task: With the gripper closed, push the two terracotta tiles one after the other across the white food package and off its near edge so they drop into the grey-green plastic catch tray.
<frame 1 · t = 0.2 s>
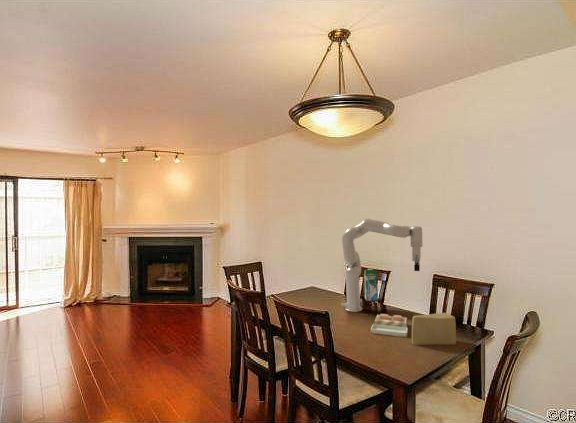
hand: (417, 269, 223), 31 cm above the table, fingers open, 9 cm apart
tan rounded block: (432, 343, 176), on the table
milk carton: (371, 299, 267), on the table
tray: (389, 332, 193), on the table
white food package: (391, 326, 204), on the table
tile b: (397, 319, 202), point 4 cm above the table, touching white food package
tile a: (384, 318, 205), point 4 cm above the table, touching white food package
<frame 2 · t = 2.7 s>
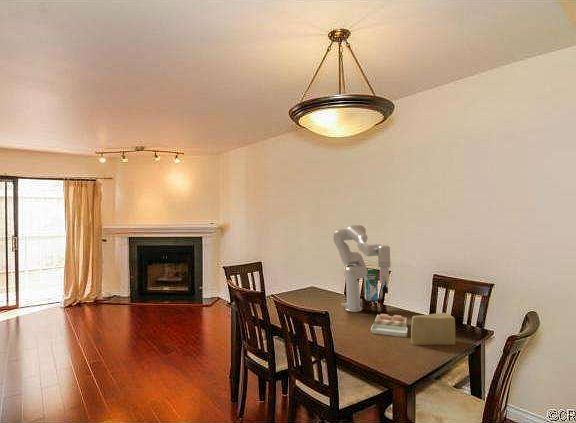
hand: (385, 293, 213), 18 cm above the table, fingers closed
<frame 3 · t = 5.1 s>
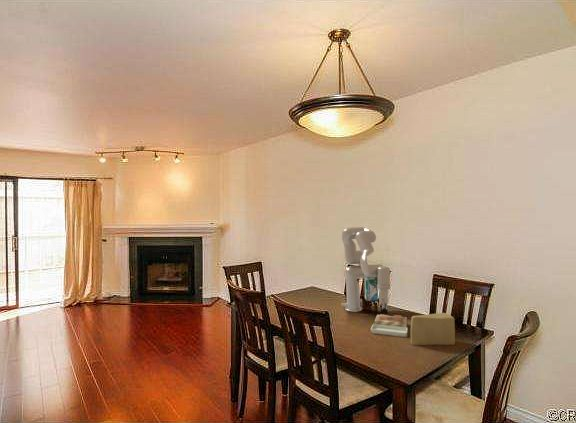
hand: (384, 315, 208), 6 cm above the table, fingers closed
tile a: (383, 318, 204), point 5 cm above the table, touching gripper
everything else where it was.
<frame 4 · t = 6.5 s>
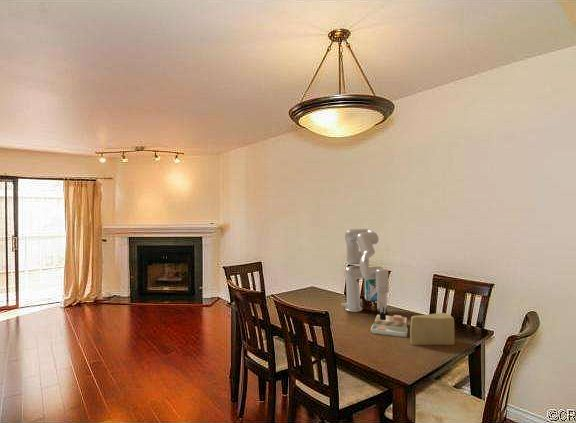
hand: (383, 319, 200), 6 cm above the table, fingers closed
tile a: (381, 327, 194), point 3 cm above the table, tilted 180°, touching tray
everything else where it was.
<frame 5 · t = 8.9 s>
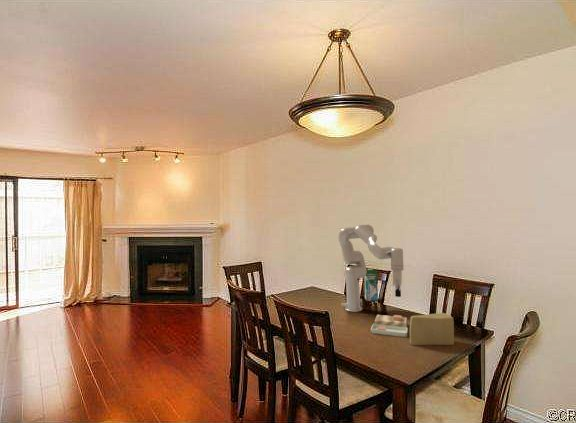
hand: (398, 296, 210), 17 cm above the table, fingers closed
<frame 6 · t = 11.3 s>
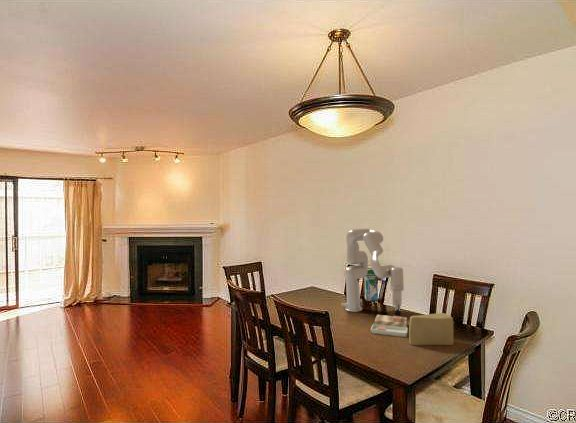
hand: (398, 316, 204), 6 cm above the table, fingers closed
tile b: (397, 320, 200), point 5 cm above the table
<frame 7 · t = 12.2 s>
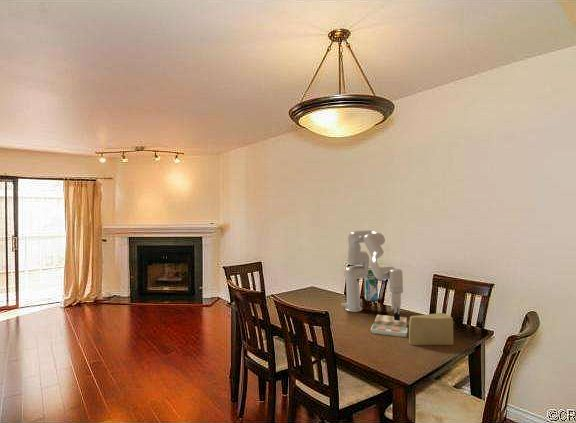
hand: (397, 319, 198), 6 cm above the table, fingers closed
tile b: (395, 328, 192), point 3 cm above the table, tilted 180°, touching tray
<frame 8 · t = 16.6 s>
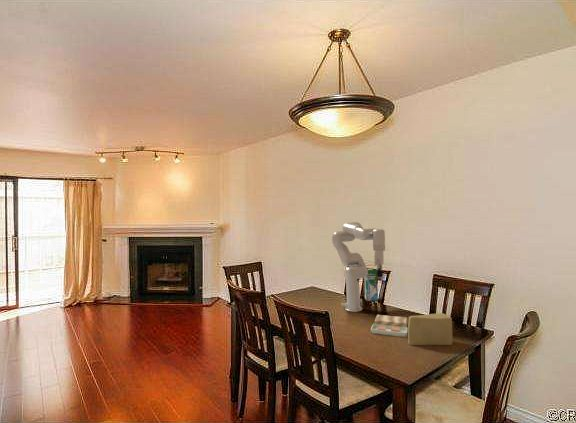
hand: (379, 276, 214), 29 cm above the table, fingers closed
at the end: tile a inside the target area on the tray (4.1 cm from its centre), point 2.6 cm above the tray's base; tile b inside the target area on the tray (3.6 cm from its centre), point 2.6 cm above the tray's base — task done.
